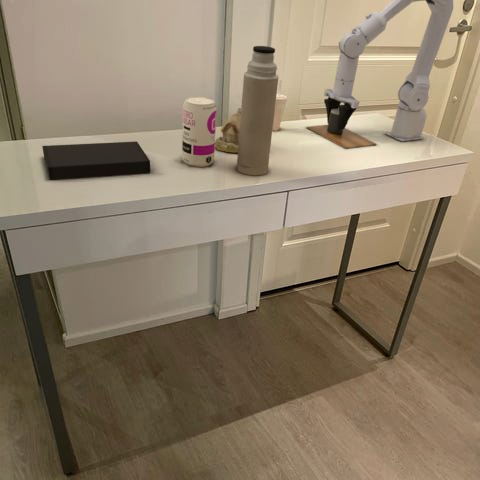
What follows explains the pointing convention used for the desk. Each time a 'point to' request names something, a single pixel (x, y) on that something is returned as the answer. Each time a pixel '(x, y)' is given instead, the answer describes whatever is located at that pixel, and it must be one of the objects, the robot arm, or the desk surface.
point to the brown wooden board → (342, 137)
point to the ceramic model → (230, 134)
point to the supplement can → (198, 131)
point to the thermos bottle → (257, 112)
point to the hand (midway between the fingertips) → (335, 126)
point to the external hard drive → (95, 160)
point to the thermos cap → (334, 122)
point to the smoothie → (279, 109)
